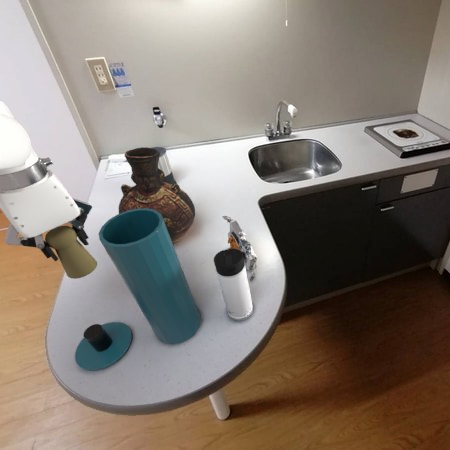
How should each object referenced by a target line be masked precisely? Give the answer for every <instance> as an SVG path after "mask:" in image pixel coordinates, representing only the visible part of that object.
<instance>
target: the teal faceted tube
mask: <svg viewBox="0 0 450 450" xmlns="http://www.w3.org/2000/svg"><path fill="white" fill-rule="evenodd" d="M99 229H100V230H99V231H98V240H99V241H100V243H101V244H102V246H103V249H104V250H105V252H106V253H107V254H108V257H109V258H110V260H111V261H112V263H113V265H114V266H115V269H116V270H117V271H118V273H119V275H120V277H121V278H122V280H123V282H124V283H125V285H126V287H127V288H128V290H129V292H130V294H131V296H132V297H133V298H134V300H135V302H136V304H137V306H138V308H139V309H140V311H141V312H142V314H143V315H144V317H145V319H146V321H147V322H148V324H149V325H150V328H151V329H152V331H153V333H154V334H155V336H156V337H157V339H158V340H159V341H160V342H161V343H163V344H166V345H178V344H182V343H184V342H186V341H188V340H190V339H191V338H192V337H193V336H194V335H195V334H196V333H197V332H198V330H199V328H200V325H201V323H202V321H201V320H202V319H201V314H200V311H199V308H198V306H197V304H196V301H195V298H194V296H193V293H192V290H191V287H190V285H189V283H188V282H189V281H188V280H187V278H186V275H185V272H184V270H183V267H182V265H181V262H180V259H179V255H177V251H176V249H175V247H174V243H172V241H171V238H170V236H169V233H168V230H167V228H166V225H165V223H164V220H163V218H162V215H161V214H160V213H159V212H158V211H156V210H153V209H149V208H138V209H133V210H128V211H125V212H123V213H120V214H119V213H117V214H116V215H115V216H112V217H111V218H109V219H108V220H107V221H106V222H105V223H104V224H103V225H102V226H101V228H99Z"/></svg>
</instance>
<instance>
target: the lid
mask: <svg viewBox="0 0 450 450" xmlns="http://www.w3.org/2000/svg"><path fill="white" fill-rule="evenodd" d="M132 338H133V336H132V331H131V329H130V328H129V326H128V325H127V324H125V323H122V322H120V321H119V322H118V321H111V322H107V323H103V324H99V323H94V324H92V325H89V326H88V327H87V328H86V329H85V330H84V331H83V338H81V340H80V342H79V343H78V345H77V347H76V349H75V354H74V359H75V363H76V364H77V365H78V367H79V368H81V369H83V370H84V371H88V372H89V371H90V372H92V371H93V372H94V371H99V370H103V369H105V368H107V367H110V366H111V365H113V364H115V363H116V362H117V361H119V360H120V359H121V358H122V357H123V356H124V355H125V353H126V352H127V350H128V349H129V347H130V345H131V342H132Z"/></svg>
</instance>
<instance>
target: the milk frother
mask: <svg viewBox="0 0 450 450" xmlns="http://www.w3.org/2000/svg"><path fill="white" fill-rule="evenodd" d="M151 148H152V149H156V150H158V151H159V152H160V157H159V162H158V168H159V169H160V170H162V171H163V172H164V174H165V178H164V179H163V181H162V182H165V183H168V184H178V183H177V182H176V180H175V176H174V174H173V170H172V167H171V163H170V161H169V158H168V154H167V148H166V147H162V146H153V147H151ZM130 168H131V167H130ZM132 173H133V169H132V168H131V174H132Z"/></svg>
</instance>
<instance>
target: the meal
mask: <svg viewBox="0 0 450 450" xmlns="http://www.w3.org/2000/svg"><path fill="white" fill-rule="evenodd" d="M222 218H223V220H225V221H226V223H229V232H228V233H227V238H228V239H227V244H229V246H230V247H229V248H227V249H238V250H240V251H241V252H242V254H243V258H244V262H245V267H246V270H247V271H248V272H251V273H252V275H251V277H250V279H249V280H250V281H252V280H253V279H254V278H256V275H255V272H256V273H257V270H256V268H257V260H258V256H257V255H256V252H255V251H254V248H253V247H252V244H251V242H250V241H249V240H248V239H246V233H245V232H244V229H242V228H241V226H240V224H239V223H238V221H237V220H234V219H232V218H231V217H230V216H227V215H224V216H222ZM250 257H252V259H251V258H250ZM255 270H256V271H255Z"/></svg>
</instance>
